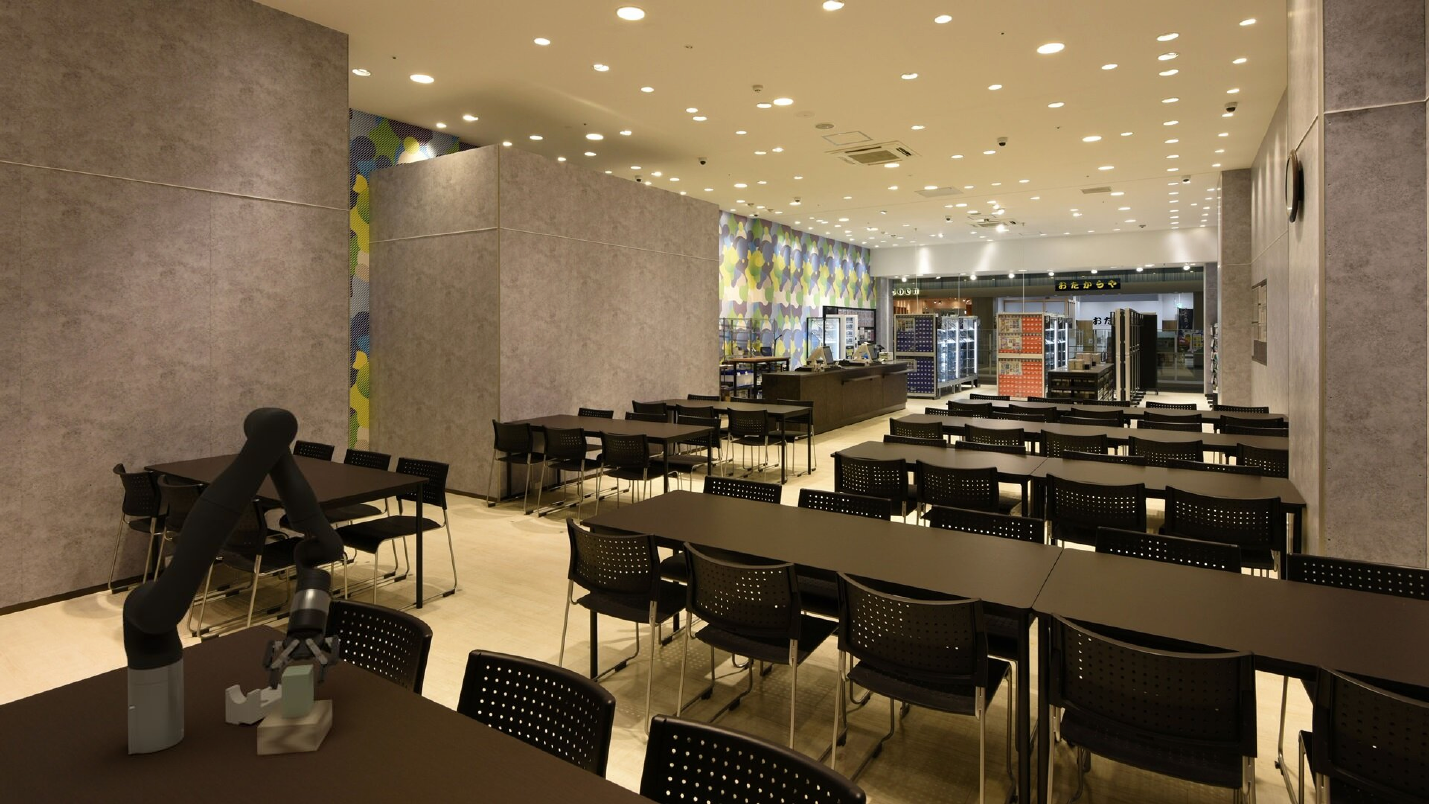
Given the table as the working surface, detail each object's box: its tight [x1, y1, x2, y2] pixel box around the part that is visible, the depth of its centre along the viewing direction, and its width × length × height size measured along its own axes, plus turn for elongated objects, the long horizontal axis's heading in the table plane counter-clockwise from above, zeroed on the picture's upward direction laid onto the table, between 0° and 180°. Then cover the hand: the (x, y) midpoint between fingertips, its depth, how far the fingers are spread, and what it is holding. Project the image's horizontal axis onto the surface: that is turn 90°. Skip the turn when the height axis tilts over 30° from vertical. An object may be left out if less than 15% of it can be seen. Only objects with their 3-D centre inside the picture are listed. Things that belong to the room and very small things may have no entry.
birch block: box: [256, 699, 333, 756], centre depth 158 cm, size 11×11×6 cm
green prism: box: [280, 664, 315, 719], centre depth 158 cm, size 5×5×9 cm
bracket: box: [225, 683, 282, 725], centre depth 170 cm, size 13×7×8 cm, turn 163°
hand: (297, 686), depth 157 cm, fingers open, 8 cm apart
